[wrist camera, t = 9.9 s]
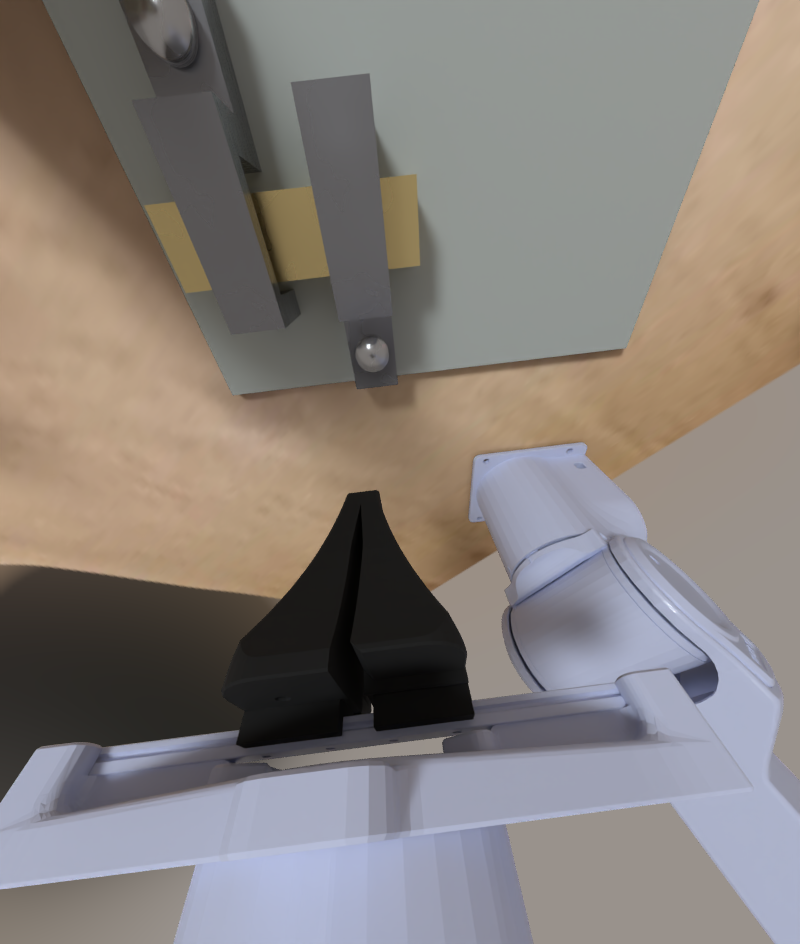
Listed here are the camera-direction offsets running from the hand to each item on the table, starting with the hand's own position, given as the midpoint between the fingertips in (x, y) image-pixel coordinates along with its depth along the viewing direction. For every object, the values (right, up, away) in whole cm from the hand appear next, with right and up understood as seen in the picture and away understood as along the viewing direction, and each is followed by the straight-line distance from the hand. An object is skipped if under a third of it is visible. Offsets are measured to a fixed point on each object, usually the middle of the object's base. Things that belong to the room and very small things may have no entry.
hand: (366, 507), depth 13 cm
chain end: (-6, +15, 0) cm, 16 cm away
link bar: (-3, +13, +1) cm, 14 cm away
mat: (+3, +14, +2) cm, 15 cm away
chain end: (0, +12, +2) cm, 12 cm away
